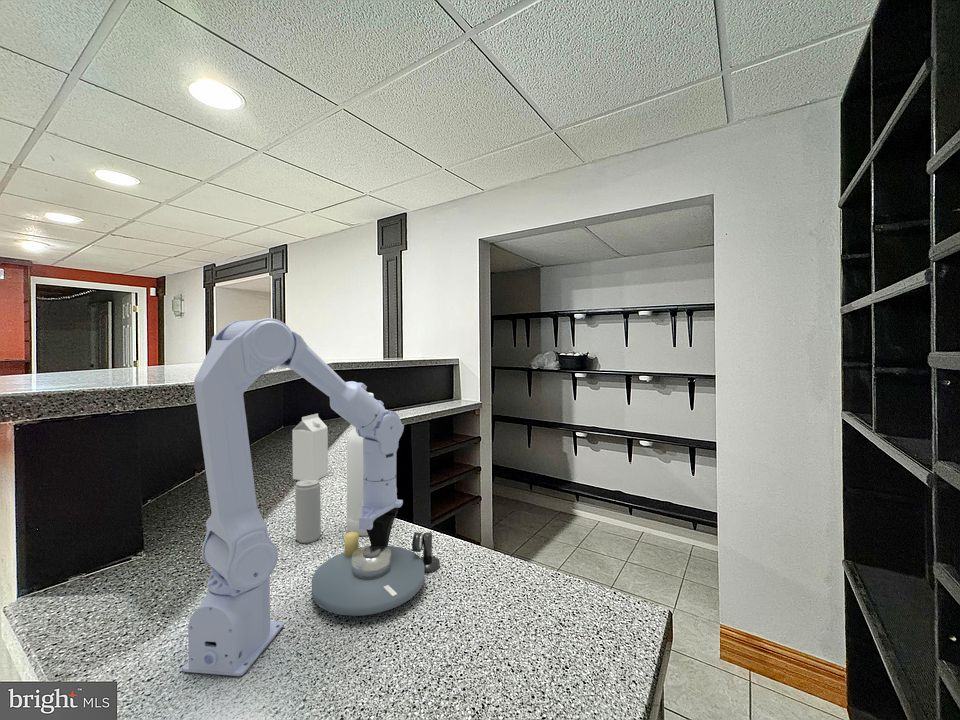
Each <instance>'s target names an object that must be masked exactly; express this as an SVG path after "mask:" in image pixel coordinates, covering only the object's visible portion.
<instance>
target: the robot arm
mask: <svg viewBox="0 0 960 720" xmlns="http://www.w3.org/2000/svg"><path fill="white" fill-rule="evenodd" d="M277 367H280V368H286V369H290V370H292V371H293V372H294V373H296V374H297V375H299V377H301V378H303V379H305V380H306V381H307V382H308V383H310V384H311V385H312V386H314V387H315V388H316V389H318V390H319V391H320V392H322V393H323V394H324V395H326V396H327V397H329V406H330V409H331V410H332V411H334V412H335V413H336V414H338V416H340V417H341V418H343V419H344V420H345V422H347V423H349V424H350V425H352V427H353V428H354V427H355V428H356V432H357V434H358V436H361V437H363V501H362V514H361V516H360V517H359V529H365V530H366V531H367V533H368V539H369V543H370V545H382V546H386V547H387V546H389V541H390V535H391V531H392V527H393V524H394V522H395V519H396V517H397V515H398V513H399V508H401V507H402V506H403V504H404V499H398V495H397V493H398V488H397V452H398V449H399V441H400V439H401V437H402V435H403V433H404V429H405V424H403V423H402V420H401V418H400V416H399V414H398V413H397V412H396V411H393V410H388V409H386V408H385V406H384V402H383V401H382V400H378V399H376V398H375V396H374V397H372V396H371V395H370V394H369V393H370V392H368V391H367V388H368V386H367V385H366V384H365V383H363V382H357V381H353V380H351V381H345V380H343V379H342V377H341V376H340V375H338V373H336V371H334V370H333V369H332V368H331V367H330V365H329V364H327V362H325V361H324V360H323V359H322V358H321V357H320V356H319V355H318V354H317V353H316V352H315V351H314V349H312V348H311V347H310V346H309V345H308V344H307V342H306V341H305V340H304V338H303V337H302V336H301V335H300V334H298V333H297V332H295V331H293V330H291V328H290V327H289V326H288V325H287V324H286V323H284V322H283V321H282V320H279V319H276V318H272V317H271V318H269V317H267V318H262V319H261V318H260V319H256V320H254V319H253V320H247V319H246V320H245V319H240V320H234V321H231V322H230V323H228V324H227V325H225V326H224V327H223V328H222V329H220V330H219V331H218V332H216V334H214V335H213V336H212V337H211V344H210V348H209V349H208V352H207V354H206V355H205V358H204V360H203V361H202V363H201V366H200V367H199V369H198V370H197V373H196V375H195V378H194V382H193V383H194V384H193V387H194V394H195V395H194V396H195V402H196V410H197V418H198V423H199V431H200V437H201V438H200V439H201V446H202V453H203V459H204V460H203V462H204V469H205V476H206V483H207V488H208V489H207V491H208V496H209V504H210V510H211V511H210V512H211V515H210V516H209V517H208V518H207V520H206V521H205V525H206V526H205V527H206V533H205V538H204V540H203V542H202V546H201V556H202V559H203V561H204V563H206V564H207V565H208V566H210V567H211V569H210V574H209V577H208V580H207V590H206V594H205V596H204V598H203V600H202V602H201V604H200V605H198V607H197V608H196V609H195V611H193V613H192V614H191V616H190V618H189V621H188V624H187V625H188V627H187V630H188V632H187V633H188V635H187V636H188V637H187V639H188V641H187V642H188V644H187V645H188V646H187V647H188V661H187V662H186V663H185V664H184V665H183V666H182V672H186V673H195V674H196V673H197V674H206V675H207V674H209V675H219V676H232V677H241V676H243V675H244V674H246V673H247V671H248V670H249V669H250V668H251V666H252V665H253V664H254V662H255V661H257V659H258V657H259V656H260V655H261V654H262V653H263V651H264V650H265V649H266V648H267V647H268V646H269V644H271V642H272V641H273V640H274V639H275V637H276V636H277V635H278V634H279V632H280V631H281V629H282V628H283V627H284V624H285V623H284V622H283V621H275V620H271V586H270V585H271V583H270V581H271V579H270V576H271V575H273V572H274V571H275V569H276V567H277V564H278V561H279V554H278V553H279V550H278V548H277V546H276V544H275V543H274V542H273V541H272V540H271V538H270V536H269V533H268V527H267V524H266V521H265V520H264V518H263V516H262V514H261V512H260V510H259V509H258V502H257V496H256V495H257V494H256V488H255V480H254V471H253V463H252V455H251V454H252V453H251V449H250V447H251V446H250V439H249V430H248V423H247V422H248V421H247V414H246V408H245V399H244V393H245V392H246V390H248V389H249V387H251V385H252V384H253V383H254V382H256V381H257V380H258V378H259V377H261V376H262V375H264V374H265V373H268V372H270V371H272V370H273V369H275V368H277Z"/></svg>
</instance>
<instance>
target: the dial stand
mask: <svg viewBox="0 0 960 720" xmlns="http://www.w3.org/2000/svg"><path fill="white" fill-rule="evenodd" d="M411 546H412V547H411V549H412V550H411V551H412V552H414V553H415V552H416V553H421V552H422V557H420V558H421V559H422V561H423V563H424V567H425V569H424V572H431V573H433V572H432V571H434V572H436V571H438V570H439V568H440V562H441V561H440V559H439V558H438V557H436V556H433V533H431V532H430V531H429V532H424V533H423V532H420V531H419V532H417V531H415V532H414V533H413V536H412V544H411ZM437 569H438V570H437ZM435 570H436V571H435Z"/></svg>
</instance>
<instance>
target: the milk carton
mask: <svg viewBox="0 0 960 720" xmlns="http://www.w3.org/2000/svg"><path fill="white" fill-rule="evenodd" d="M328 430H329V429H328V426H327V424H325V423H324V421H323V420H322V419H321V418H320V416H319V413H314V414H310V415H306V416H302V417H301V421H299V423H298V424H297V425H296V426H295V427H294V428H293V429H292V430H291V431H292V433H291V435H292V480H297V481H300V480H304V479H318V480H320V479H322V478H324V477H326V476H328V475H329V473H328V471H329V467H328V466H329V463H328V462H329V459H328V457H329V456H328V455H329V452H328V451H329V450H328V448H329V446H328V445H329V444H328V442H329V439H328V435H329V433H328Z"/></svg>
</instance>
